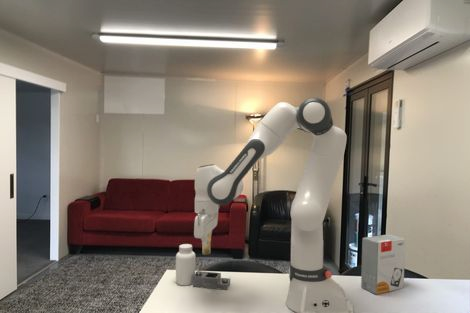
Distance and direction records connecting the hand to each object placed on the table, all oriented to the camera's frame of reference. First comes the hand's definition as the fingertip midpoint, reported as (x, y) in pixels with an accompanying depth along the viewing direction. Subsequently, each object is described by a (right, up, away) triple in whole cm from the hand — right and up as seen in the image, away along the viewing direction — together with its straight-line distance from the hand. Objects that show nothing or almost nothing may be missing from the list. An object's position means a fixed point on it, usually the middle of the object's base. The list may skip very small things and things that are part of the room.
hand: (206, 243), depth 118 cm
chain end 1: (-1, -19, +8) cm, 21 cm away
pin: (0, -4, 0) cm, 4 cm away
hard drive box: (+69, -19, +5) cm, 72 cm away
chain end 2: (+3, -19, +7) cm, 21 cm away
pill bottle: (-10, -19, +11) cm, 24 cm away
